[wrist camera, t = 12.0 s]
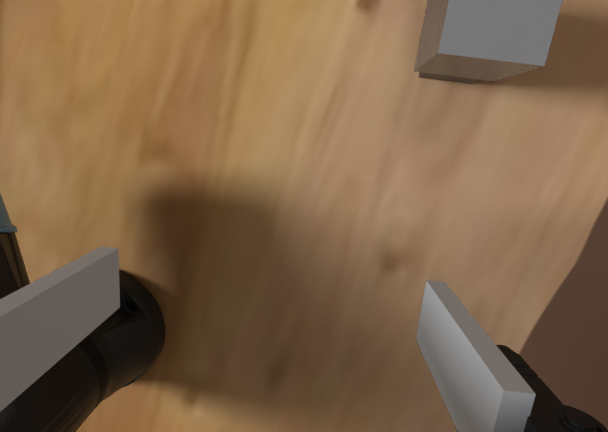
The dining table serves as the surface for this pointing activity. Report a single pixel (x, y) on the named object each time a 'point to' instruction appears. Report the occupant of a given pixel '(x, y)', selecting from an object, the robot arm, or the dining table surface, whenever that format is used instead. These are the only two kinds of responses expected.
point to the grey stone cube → (486, 37)
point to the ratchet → (448, 78)
